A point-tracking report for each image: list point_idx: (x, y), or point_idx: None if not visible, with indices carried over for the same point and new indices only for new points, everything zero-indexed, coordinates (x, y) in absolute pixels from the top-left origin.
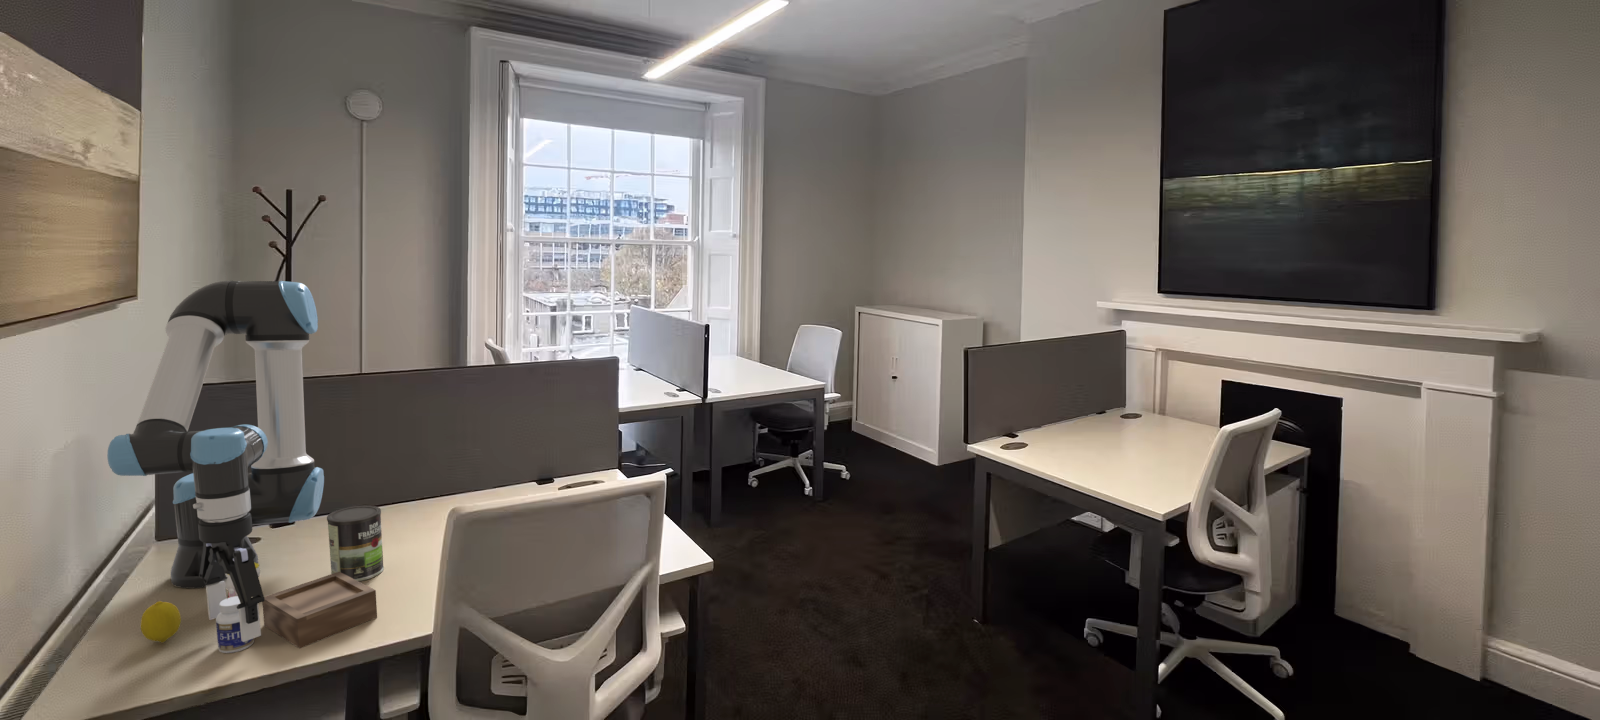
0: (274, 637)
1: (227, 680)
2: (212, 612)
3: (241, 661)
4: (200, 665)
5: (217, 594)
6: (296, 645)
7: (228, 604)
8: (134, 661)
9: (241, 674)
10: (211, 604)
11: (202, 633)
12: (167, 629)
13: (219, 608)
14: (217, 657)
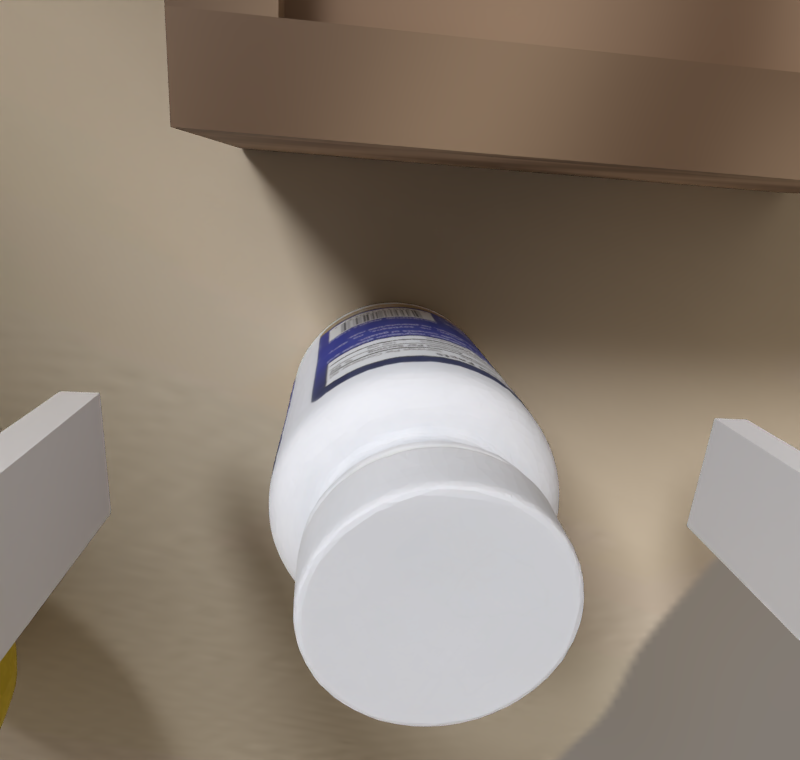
0: (490, 203)
1: (709, 559)
2: (84, 532)
3: (597, 452)
4: None
5: None
6: (752, 189)
7: (500, 679)
8: (112, 726)
9: None
10: (37, 588)
11: None
12: (2, 692)
13: (69, 488)
14: None
